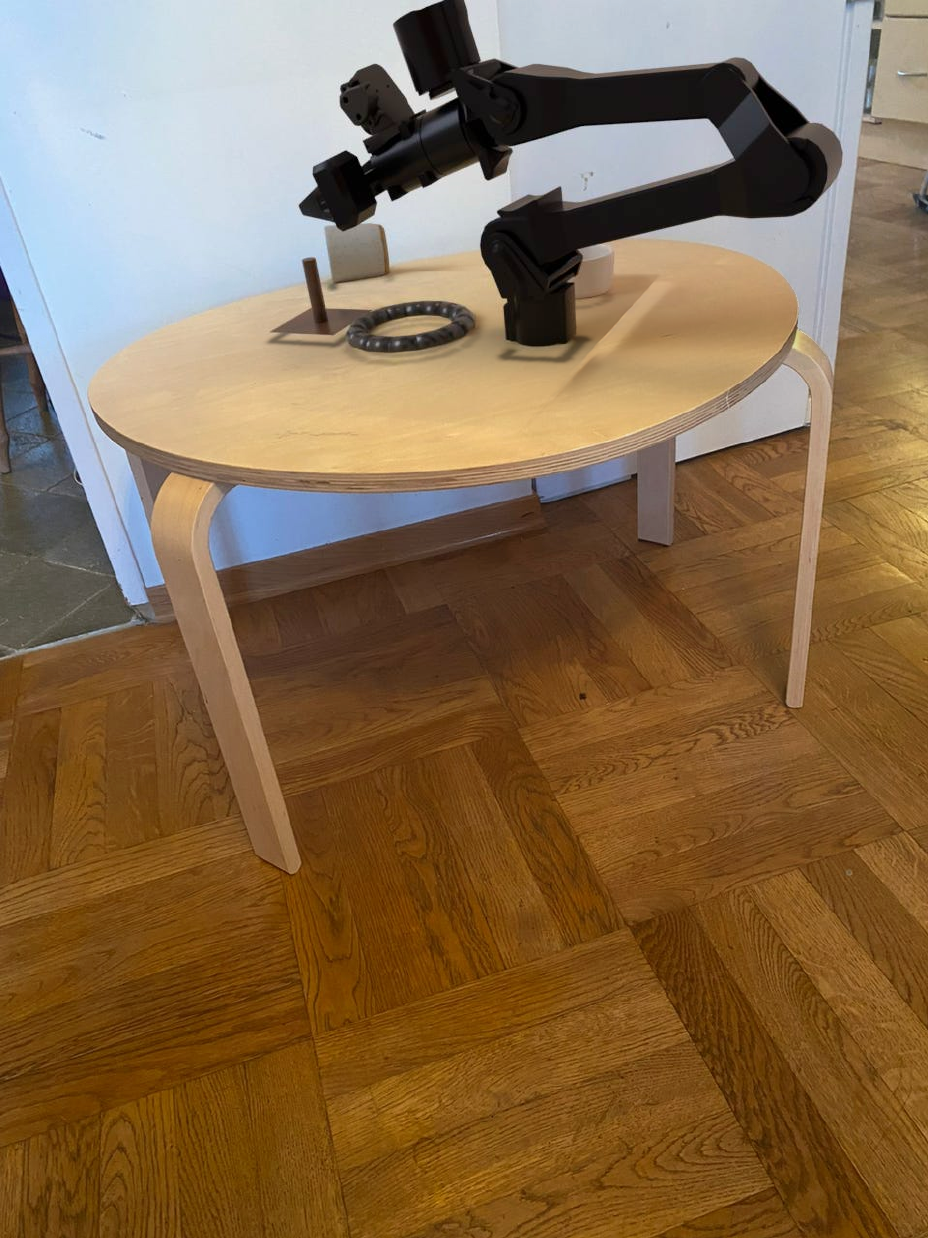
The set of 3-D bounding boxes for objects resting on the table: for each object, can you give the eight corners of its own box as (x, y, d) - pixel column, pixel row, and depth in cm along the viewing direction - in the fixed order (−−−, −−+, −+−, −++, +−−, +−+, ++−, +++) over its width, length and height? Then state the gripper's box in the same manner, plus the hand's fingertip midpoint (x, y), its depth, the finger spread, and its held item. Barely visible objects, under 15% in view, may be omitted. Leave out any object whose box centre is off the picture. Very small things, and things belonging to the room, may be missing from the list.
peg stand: (374, 319, 105) (362, 248, 100) (334, 345, 99) (320, 270, 94) (312, 317, 109) (298, 248, 104) (271, 341, 103) (253, 269, 98)
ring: (496, 320, 100) (494, 299, 98) (440, 366, 90) (437, 343, 88) (388, 316, 106) (385, 296, 104) (324, 359, 95) (320, 337, 94)
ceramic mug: (394, 283, 117) (385, 222, 113) (334, 293, 116) (322, 232, 112) (385, 266, 126) (377, 209, 121) (329, 275, 125) (319, 218, 120)
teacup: (621, 304, 99) (620, 255, 96) (554, 313, 99) (552, 264, 96) (602, 281, 108) (601, 235, 104) (541, 289, 108) (538, 244, 104)
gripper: (450, 32, 86) (338, 94, 95) (347, 74, 74) (232, 141, 84) (492, 149, 91) (383, 197, 101) (403, 206, 80) (289, 254, 89)
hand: (325, 195), depth 93 cm, fingers open, 9 cm apart
